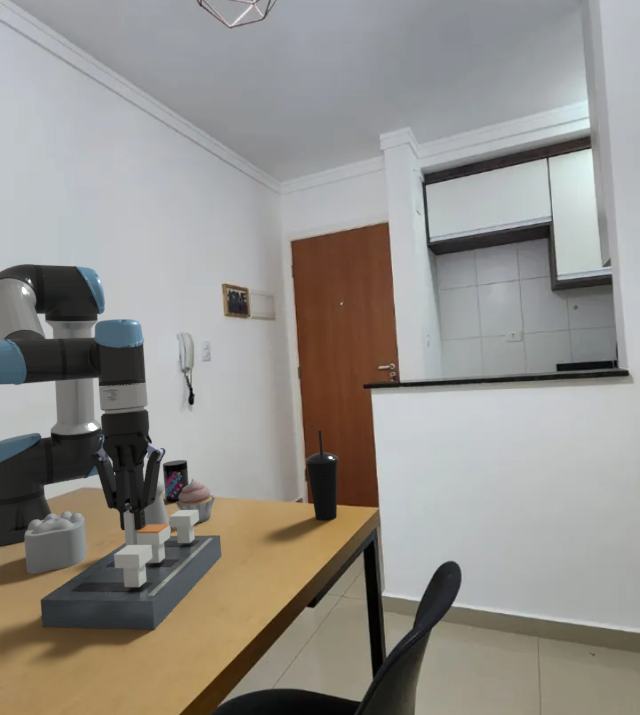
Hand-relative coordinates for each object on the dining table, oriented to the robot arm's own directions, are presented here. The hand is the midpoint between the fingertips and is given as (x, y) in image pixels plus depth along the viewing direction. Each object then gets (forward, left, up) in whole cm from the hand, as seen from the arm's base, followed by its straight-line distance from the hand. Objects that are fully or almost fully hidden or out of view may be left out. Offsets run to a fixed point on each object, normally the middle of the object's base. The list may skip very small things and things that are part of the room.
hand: (134, 548), depth 81 cm
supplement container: (-19, +52, -7) cm, 56 cm away
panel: (+1, 0, -7) cm, 7 cm away
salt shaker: (-7, +19, -7) cm, 22 cm away
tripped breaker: (+4, 0, -2) cm, 4 cm away
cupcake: (-5, +34, -7) cm, 35 cm away
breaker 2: (+5, +9, -2) cm, 10 cm away
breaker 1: (+5, -8, -2) cm, 10 cm away
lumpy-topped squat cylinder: (-25, +12, -7) cm, 29 cm away
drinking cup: (+27, +34, -7) cm, 44 cm away
